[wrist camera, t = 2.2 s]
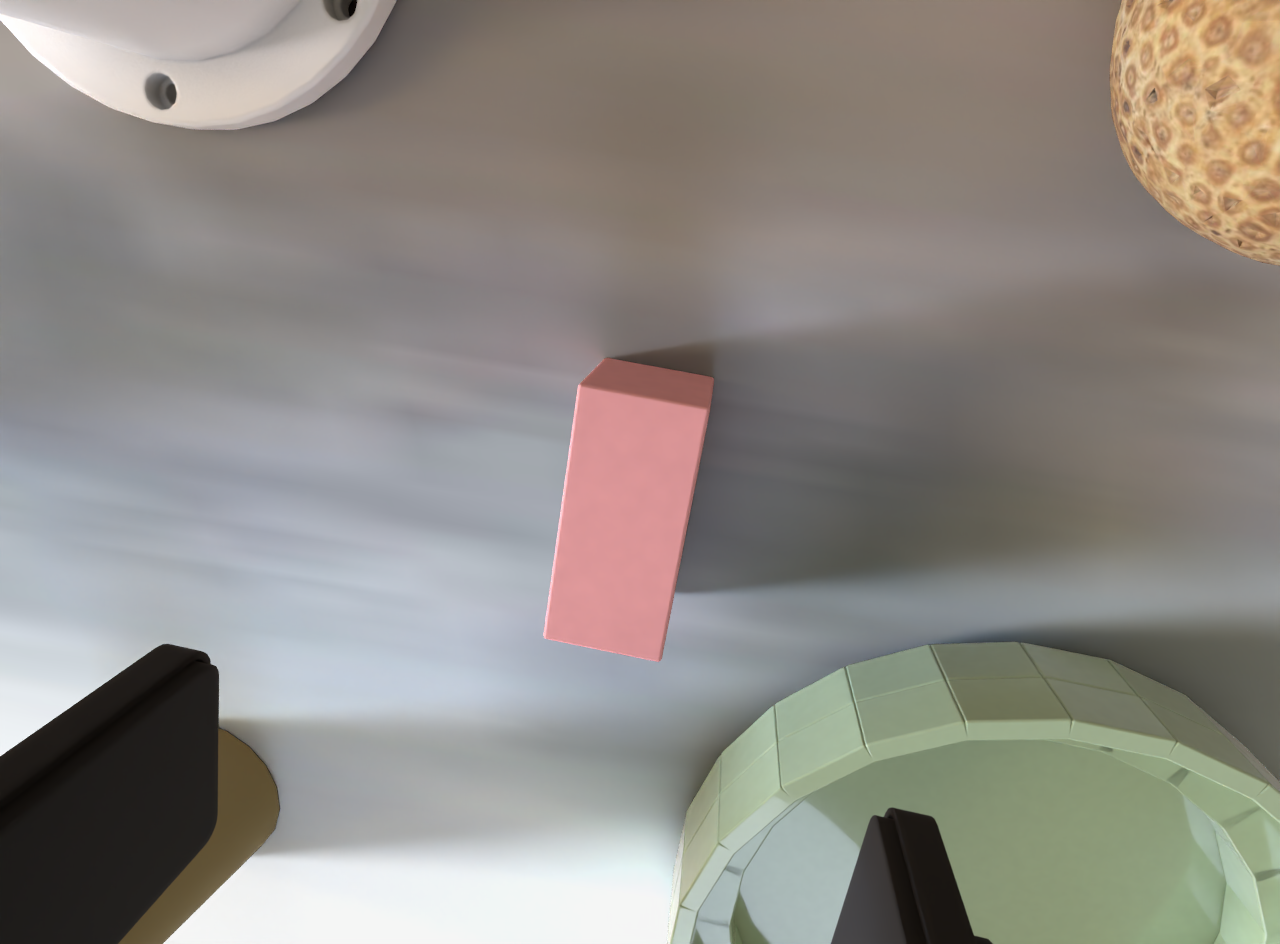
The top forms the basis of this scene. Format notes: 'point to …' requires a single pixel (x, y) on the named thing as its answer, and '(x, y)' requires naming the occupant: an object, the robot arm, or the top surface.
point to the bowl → (989, 804)
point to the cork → (217, 841)
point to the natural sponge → (1204, 114)
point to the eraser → (626, 506)
